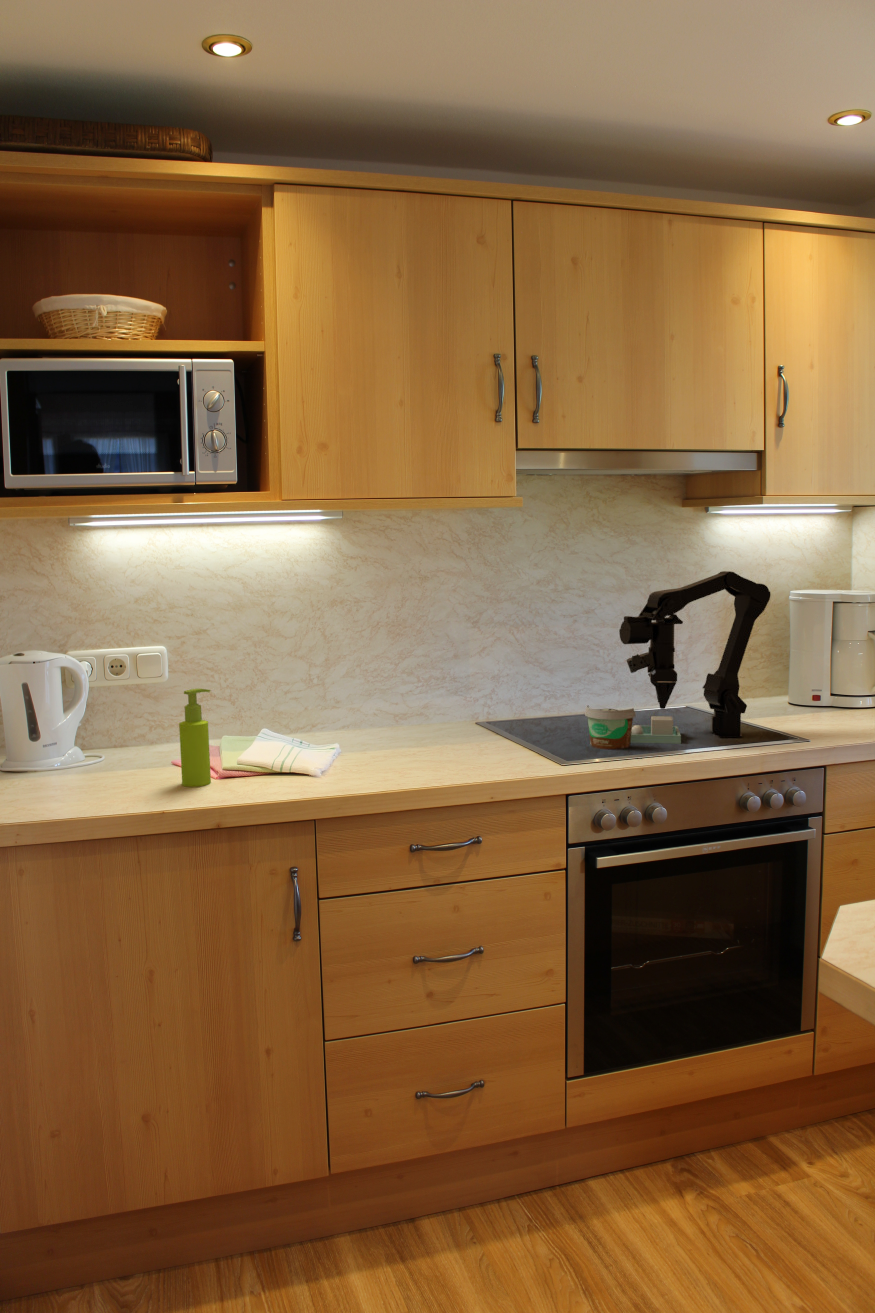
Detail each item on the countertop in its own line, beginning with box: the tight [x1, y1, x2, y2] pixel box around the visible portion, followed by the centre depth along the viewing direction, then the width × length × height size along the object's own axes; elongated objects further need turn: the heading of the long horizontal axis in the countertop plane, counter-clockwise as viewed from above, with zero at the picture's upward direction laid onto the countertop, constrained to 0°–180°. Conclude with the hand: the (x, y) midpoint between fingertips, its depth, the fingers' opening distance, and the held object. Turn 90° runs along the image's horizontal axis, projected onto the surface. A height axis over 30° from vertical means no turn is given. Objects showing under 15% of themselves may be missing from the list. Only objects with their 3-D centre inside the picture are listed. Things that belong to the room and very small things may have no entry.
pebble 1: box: [631, 724, 643, 732], centre depth 234 cm, size 3×3×3 cm
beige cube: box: [650, 715, 674, 735], centre depth 231 cm, size 5×5×5 cm
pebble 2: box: [632, 728, 643, 735], centre depth 230 cm, size 3×3×3 cm
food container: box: [584, 705, 637, 750], centre depth 222 cm, size 12×6×10 cm, turn 62°
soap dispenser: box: [178, 688, 212, 788], centre depth 196 cm, size 6×7×20 cm
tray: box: [630, 725, 682, 745], centre depth 232 cm, size 13×12×2 cm
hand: (661, 705), depth 231 cm, fingers open, 9 cm apart
